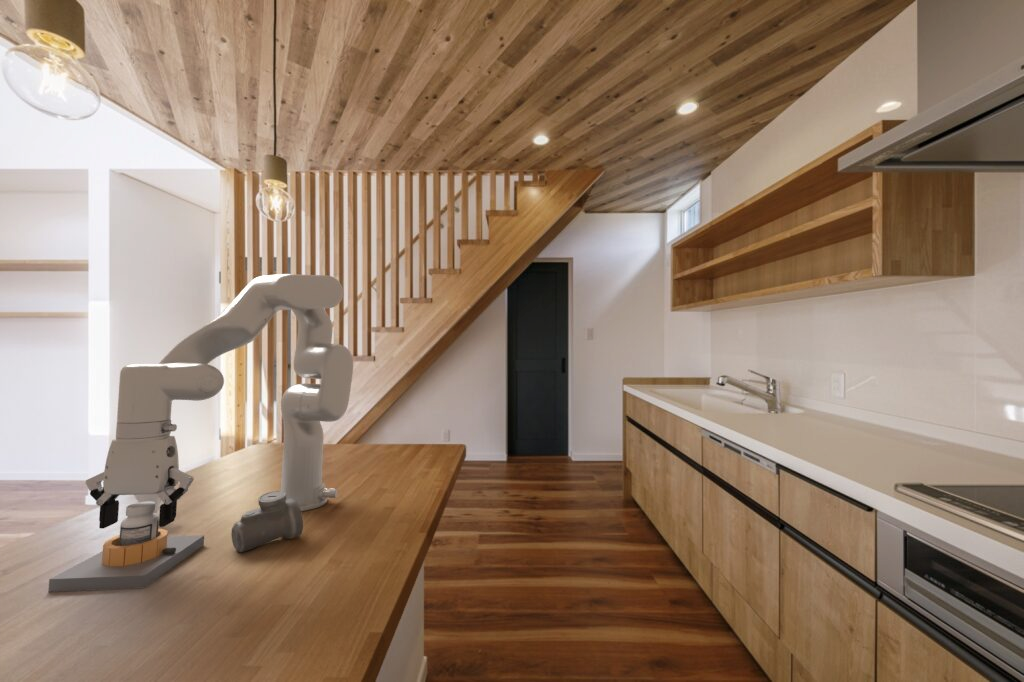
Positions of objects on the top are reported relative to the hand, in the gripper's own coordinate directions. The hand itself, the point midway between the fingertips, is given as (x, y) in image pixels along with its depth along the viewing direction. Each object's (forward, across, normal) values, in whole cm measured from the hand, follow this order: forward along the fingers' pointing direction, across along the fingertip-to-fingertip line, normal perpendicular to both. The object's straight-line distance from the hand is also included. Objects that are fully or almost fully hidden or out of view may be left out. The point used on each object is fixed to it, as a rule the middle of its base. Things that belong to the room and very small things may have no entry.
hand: (137, 524), depth 76 cm
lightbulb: (+8, +12, -21) cm, 25 cm away
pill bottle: (+6, 0, 0) cm, 6 cm away
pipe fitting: (+8, -19, -8) cm, 22 cm away
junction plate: (+7, 0, 0) cm, 7 cm away
